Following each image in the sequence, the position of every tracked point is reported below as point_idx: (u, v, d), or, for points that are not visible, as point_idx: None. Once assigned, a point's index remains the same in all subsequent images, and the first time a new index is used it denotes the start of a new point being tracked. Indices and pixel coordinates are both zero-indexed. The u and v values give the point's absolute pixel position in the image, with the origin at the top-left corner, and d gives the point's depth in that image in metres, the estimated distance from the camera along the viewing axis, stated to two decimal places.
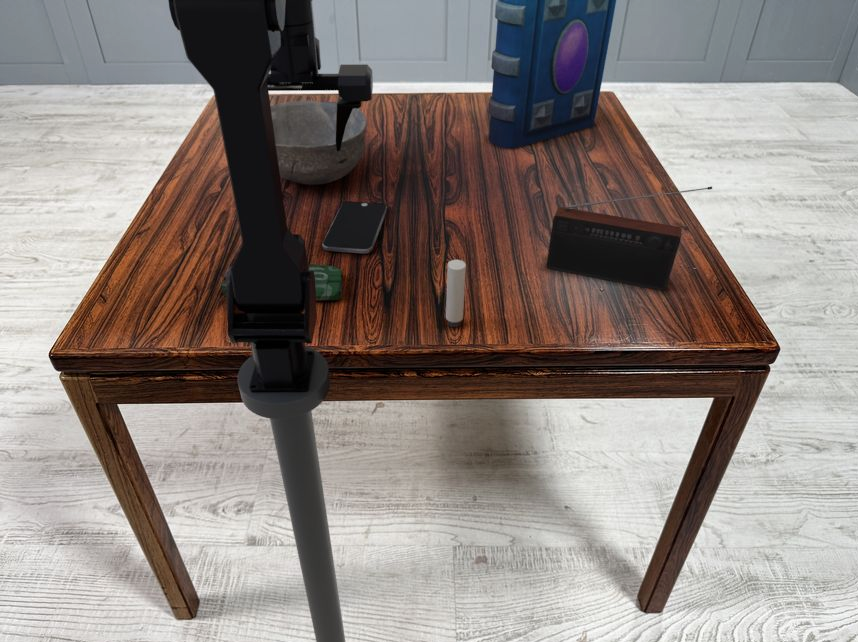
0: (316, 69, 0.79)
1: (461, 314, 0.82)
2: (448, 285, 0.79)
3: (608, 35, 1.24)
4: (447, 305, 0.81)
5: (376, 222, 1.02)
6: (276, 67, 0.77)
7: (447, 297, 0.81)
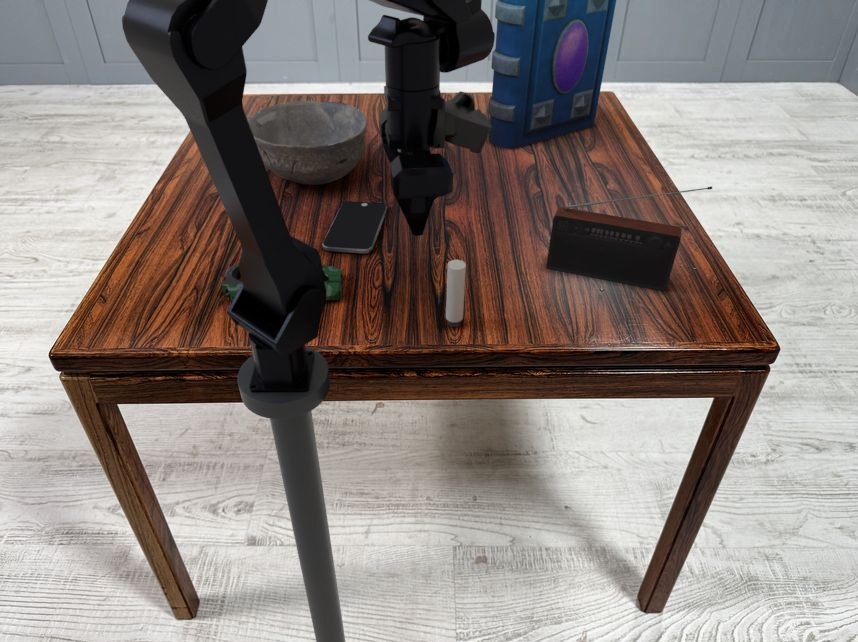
0: (410, 142, 0.70)
1: (461, 314, 0.82)
2: (448, 285, 0.79)
3: (608, 35, 1.24)
4: (447, 305, 0.81)
5: (376, 222, 1.02)
6: None
7: (447, 297, 0.81)
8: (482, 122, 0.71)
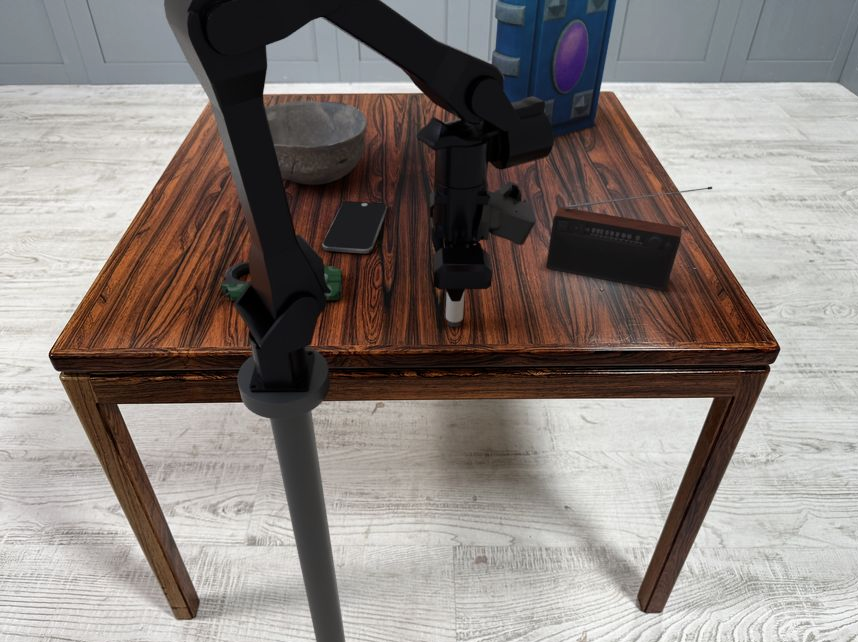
0: (455, 233, 0.72)
1: (461, 314, 0.82)
2: None
3: (608, 35, 1.24)
4: (447, 305, 0.82)
5: (376, 222, 1.02)
6: None
7: (447, 297, 0.81)
8: (527, 216, 0.73)
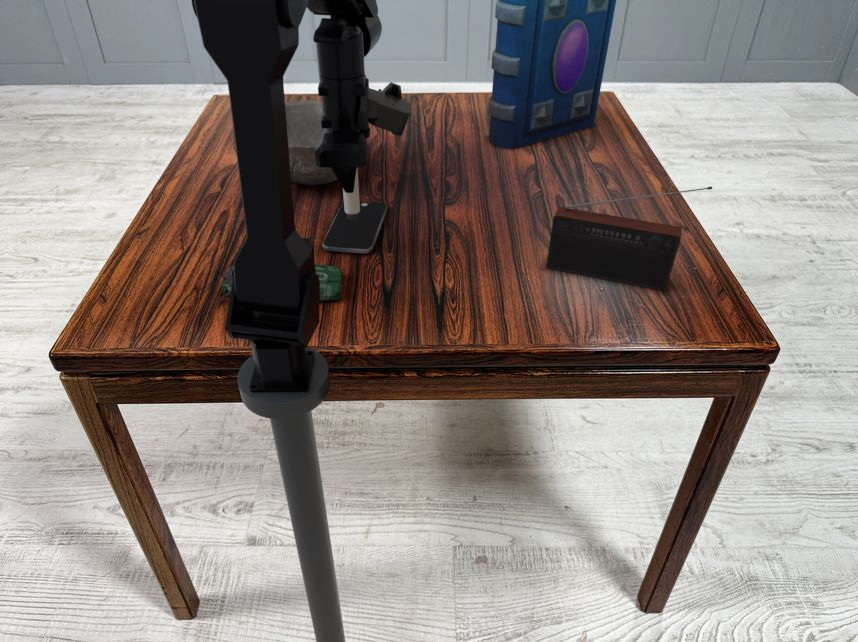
0: (338, 123, 0.83)
1: (357, 206, 0.93)
2: None
3: (608, 35, 1.24)
4: (344, 198, 0.92)
5: (376, 222, 1.02)
6: None
7: (343, 190, 0.91)
8: (402, 109, 0.83)
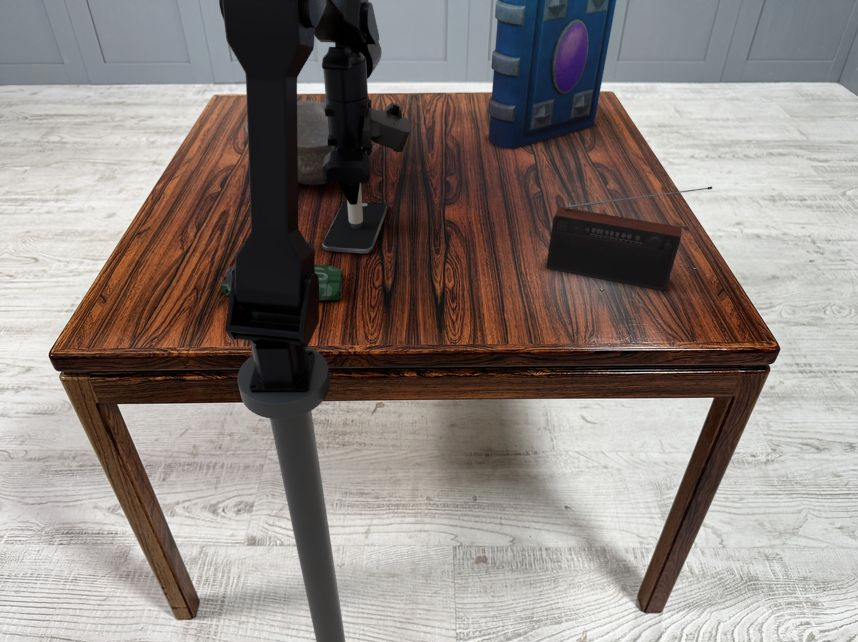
0: (343, 141, 0.90)
1: (360, 217, 0.99)
2: None
3: (608, 35, 1.24)
4: (348, 209, 0.99)
5: (376, 222, 1.02)
6: None
7: (347, 202, 0.98)
8: (402, 128, 0.90)
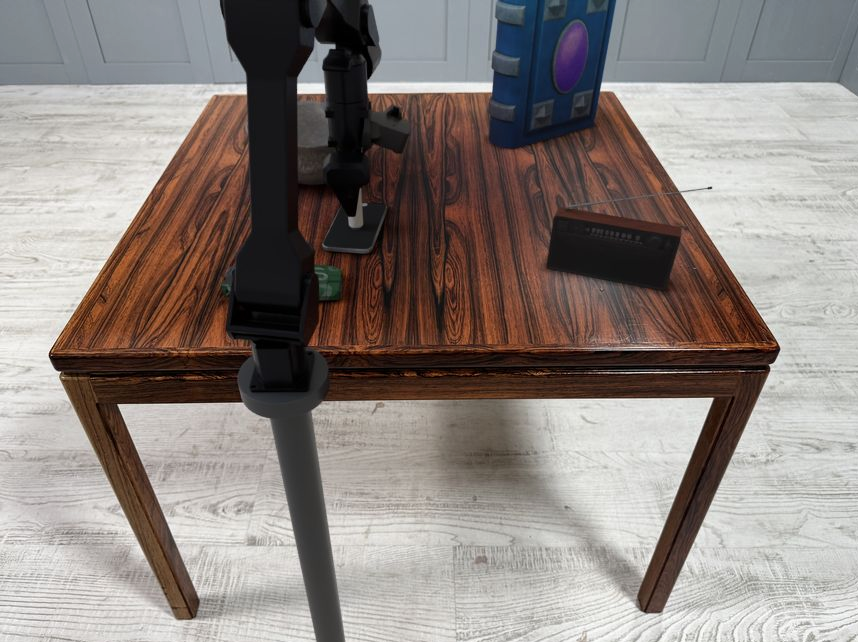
0: (343, 142, 0.90)
1: (360, 221, 1.00)
2: None
3: (608, 35, 1.24)
4: None
5: (376, 222, 1.02)
6: None
7: None
8: (402, 129, 0.90)
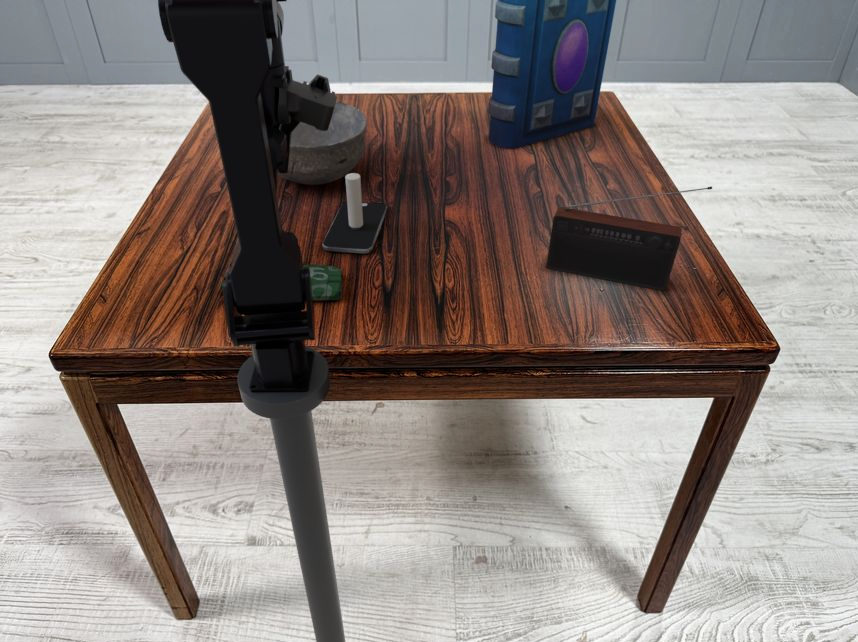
0: None
1: (360, 221, 1.00)
2: (347, 194, 0.97)
3: (608, 35, 1.24)
4: (348, 213, 0.99)
5: (376, 222, 1.02)
6: None
7: (347, 205, 0.98)
8: (325, 102, 0.78)
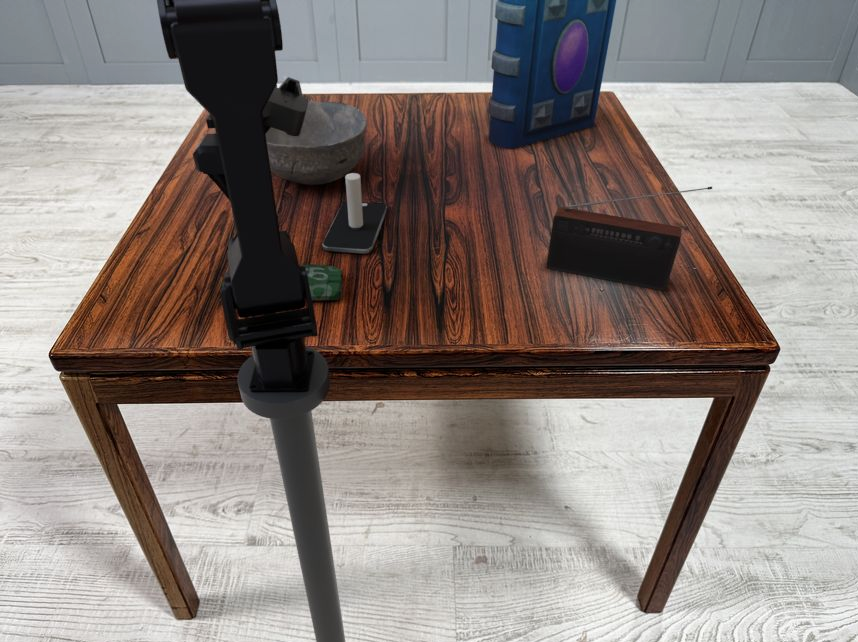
0: None
1: (360, 221, 1.00)
2: (347, 194, 0.97)
3: (608, 35, 1.24)
4: (348, 213, 0.99)
5: (376, 222, 1.02)
6: None
7: (347, 205, 0.98)
8: (296, 106, 0.75)
